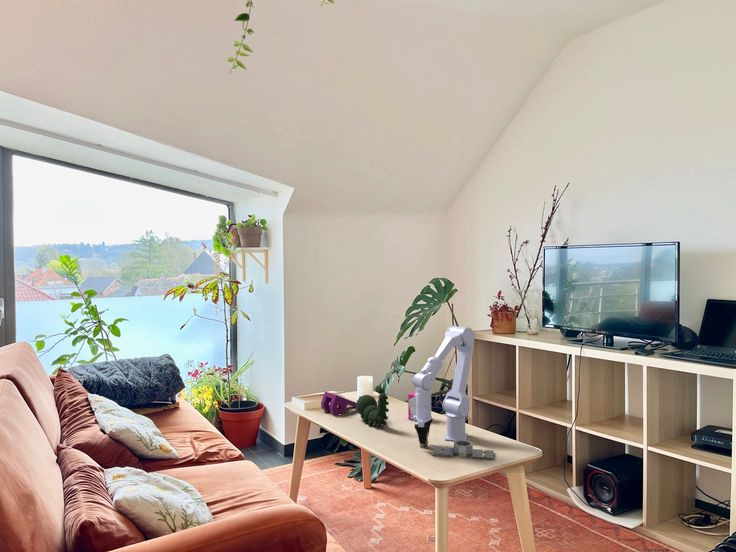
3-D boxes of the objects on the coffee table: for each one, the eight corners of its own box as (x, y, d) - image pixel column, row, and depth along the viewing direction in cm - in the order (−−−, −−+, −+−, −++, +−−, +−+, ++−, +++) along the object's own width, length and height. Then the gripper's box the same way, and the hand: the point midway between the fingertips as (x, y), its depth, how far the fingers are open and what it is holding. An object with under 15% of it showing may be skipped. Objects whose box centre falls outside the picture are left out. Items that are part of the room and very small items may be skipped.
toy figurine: (393, 432, 238) (368, 412, 260) (395, 388, 236) (369, 372, 258) (373, 435, 234) (349, 415, 256) (374, 391, 232) (350, 374, 254)
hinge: (432, 455, 204) (432, 444, 204) (435, 448, 212) (434, 438, 212) (493, 460, 199) (493, 448, 199) (493, 452, 207) (493, 441, 207)
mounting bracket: (347, 419, 274) (318, 408, 263) (353, 402, 276) (325, 391, 265) (359, 423, 266) (329, 412, 256) (365, 406, 268) (336, 394, 258)
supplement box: (426, 419, 251) (426, 393, 251) (418, 421, 247) (417, 395, 246) (416, 416, 255) (415, 391, 255) (407, 419, 251) (407, 393, 250)
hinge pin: (420, 445, 216) (420, 424, 216) (428, 446, 215) (428, 425, 215) (419, 448, 213) (419, 426, 213) (427, 448, 212) (427, 427, 212)
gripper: (415, 399, 222) (416, 434, 222) (410, 409, 207) (410, 446, 208) (434, 400, 220) (434, 435, 220) (429, 410, 206) (429, 447, 206)
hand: (423, 440), depth 214 cm, fingers open, 6 cm apart
